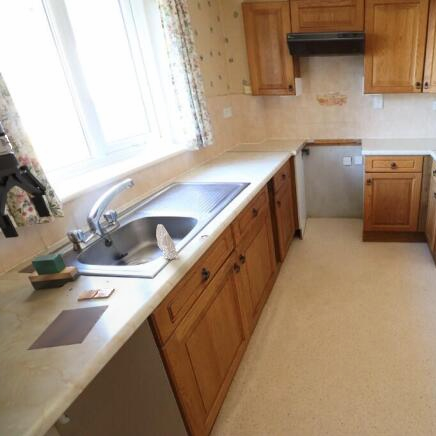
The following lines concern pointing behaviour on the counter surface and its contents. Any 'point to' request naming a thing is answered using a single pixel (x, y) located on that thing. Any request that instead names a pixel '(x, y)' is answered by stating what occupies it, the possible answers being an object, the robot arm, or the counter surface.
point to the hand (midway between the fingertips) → (29, 226)
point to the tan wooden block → (103, 293)
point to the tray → (69, 327)
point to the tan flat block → (88, 295)
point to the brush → (51, 272)
